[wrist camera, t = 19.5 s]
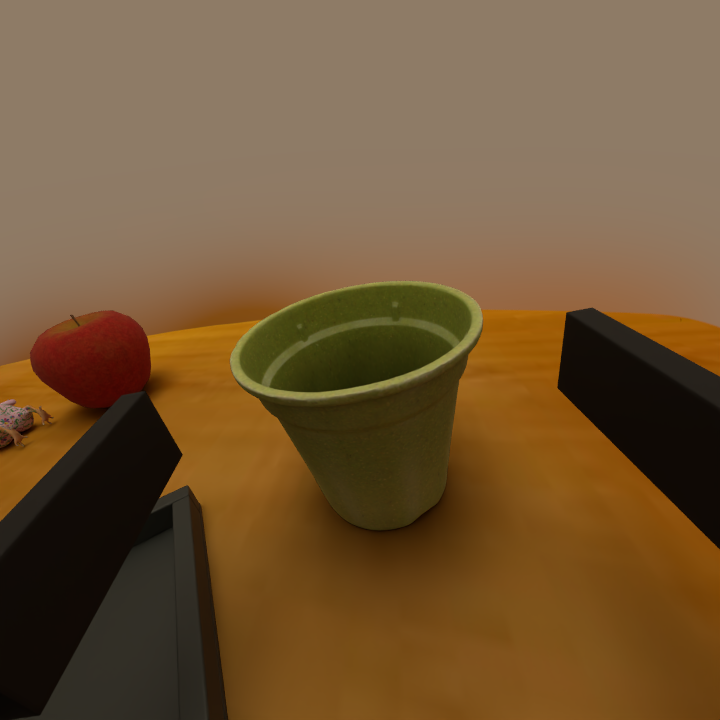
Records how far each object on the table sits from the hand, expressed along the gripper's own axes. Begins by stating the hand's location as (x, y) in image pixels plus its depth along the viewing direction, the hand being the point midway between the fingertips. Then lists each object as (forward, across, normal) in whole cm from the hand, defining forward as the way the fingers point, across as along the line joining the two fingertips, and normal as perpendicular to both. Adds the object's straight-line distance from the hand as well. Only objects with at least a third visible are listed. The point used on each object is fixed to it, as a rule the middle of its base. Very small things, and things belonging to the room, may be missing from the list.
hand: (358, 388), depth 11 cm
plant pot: (+3, 0, -8) cm, 8 cm away
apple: (+17, -22, -8) cm, 29 cm away
